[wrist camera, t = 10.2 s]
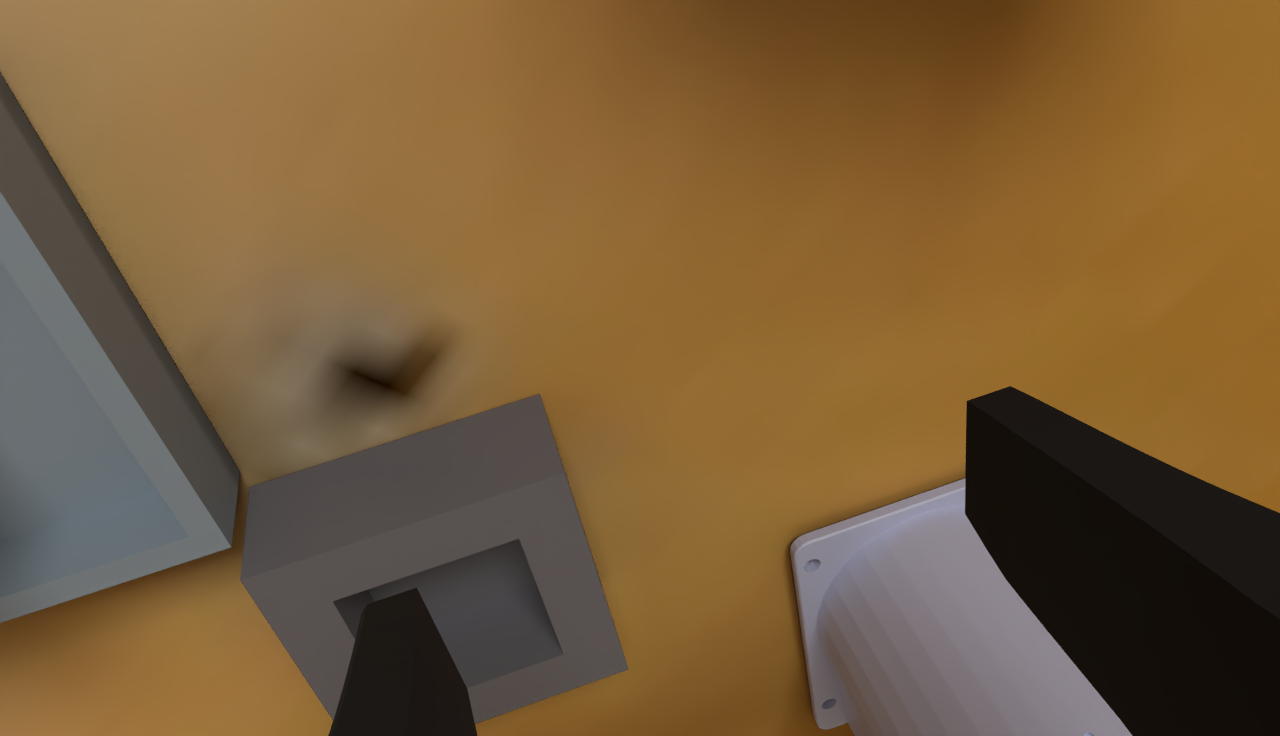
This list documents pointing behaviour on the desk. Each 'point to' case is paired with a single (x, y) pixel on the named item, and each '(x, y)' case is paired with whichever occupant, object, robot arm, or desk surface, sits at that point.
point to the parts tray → (88, 407)
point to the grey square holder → (439, 558)
